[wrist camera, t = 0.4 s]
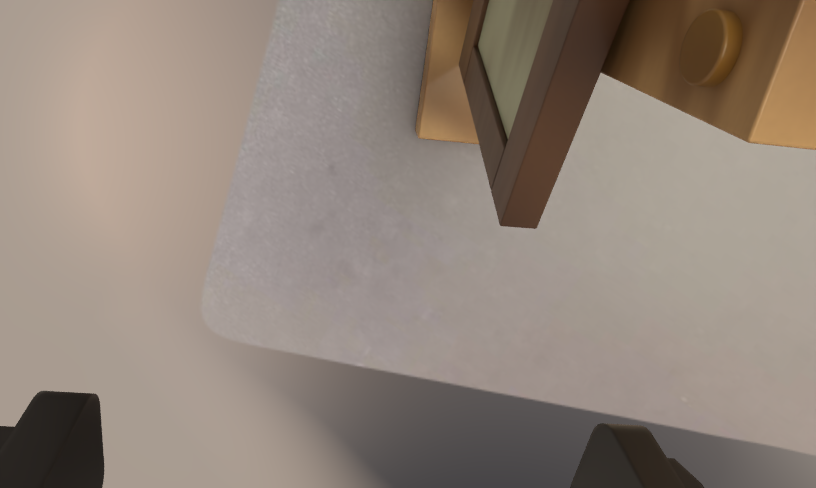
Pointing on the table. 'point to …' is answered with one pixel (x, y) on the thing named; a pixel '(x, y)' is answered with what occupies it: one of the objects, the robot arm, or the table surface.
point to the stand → (669, 66)
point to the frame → (532, 90)
